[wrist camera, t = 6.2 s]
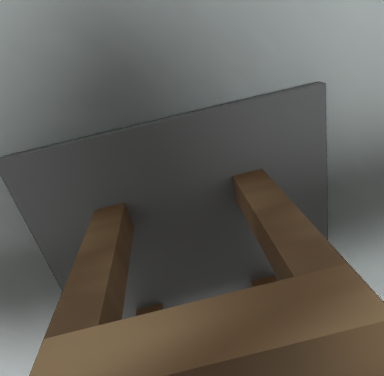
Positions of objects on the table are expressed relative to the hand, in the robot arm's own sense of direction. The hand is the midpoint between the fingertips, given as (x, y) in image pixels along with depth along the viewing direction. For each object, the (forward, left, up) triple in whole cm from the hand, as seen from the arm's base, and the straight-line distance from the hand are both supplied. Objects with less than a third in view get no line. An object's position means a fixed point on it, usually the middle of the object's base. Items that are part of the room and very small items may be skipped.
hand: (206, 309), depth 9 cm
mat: (0, 0, -3) cm, 3 cm away
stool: (0, 0, -2) cm, 2 cm away
